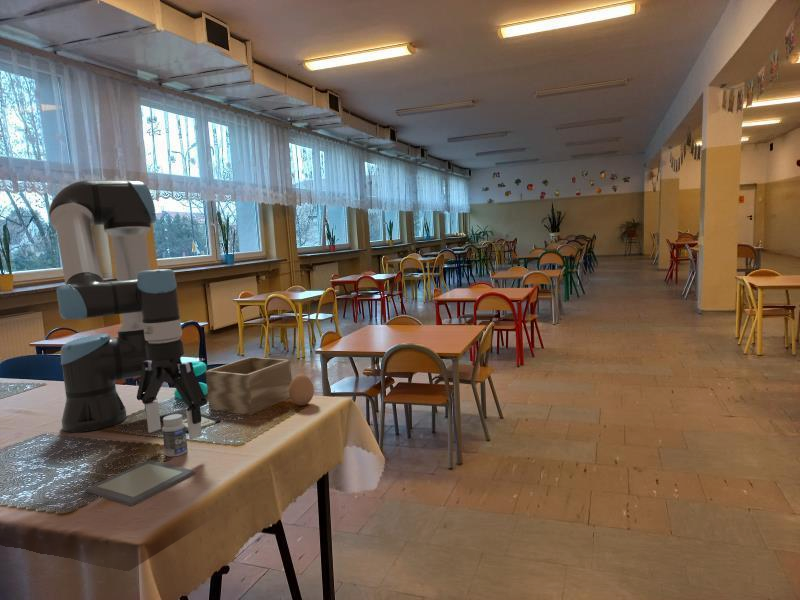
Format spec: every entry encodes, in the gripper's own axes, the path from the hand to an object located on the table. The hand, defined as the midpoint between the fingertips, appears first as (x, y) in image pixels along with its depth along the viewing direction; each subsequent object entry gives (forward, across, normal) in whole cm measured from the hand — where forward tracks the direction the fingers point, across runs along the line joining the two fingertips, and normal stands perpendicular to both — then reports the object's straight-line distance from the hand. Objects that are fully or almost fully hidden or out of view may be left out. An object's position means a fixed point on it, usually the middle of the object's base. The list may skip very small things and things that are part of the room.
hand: (174, 434), depth 119 cm
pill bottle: (+5, 0, 0) cm, 5 cm away
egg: (+4, +6, +37) cm, 38 cm away
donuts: (+4, -34, +33) cm, 48 cm away
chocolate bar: (+5, -16, +16) cm, 24 cm away
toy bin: (+4, -10, +34) cm, 36 cm away
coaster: (+5, +6, -13) cm, 15 cm away
